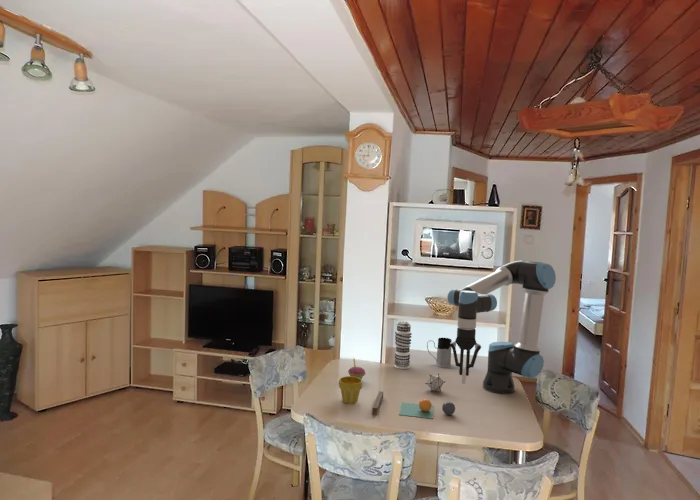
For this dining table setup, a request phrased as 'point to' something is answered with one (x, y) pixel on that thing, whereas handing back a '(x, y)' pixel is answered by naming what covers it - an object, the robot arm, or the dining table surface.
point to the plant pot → (350, 388)
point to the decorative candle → (402, 345)
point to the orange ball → (425, 405)
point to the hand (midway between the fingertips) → (463, 382)
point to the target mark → (415, 411)
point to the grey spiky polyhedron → (435, 382)
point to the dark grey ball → (448, 408)
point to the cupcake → (356, 371)
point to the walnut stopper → (377, 403)
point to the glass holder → (443, 352)
